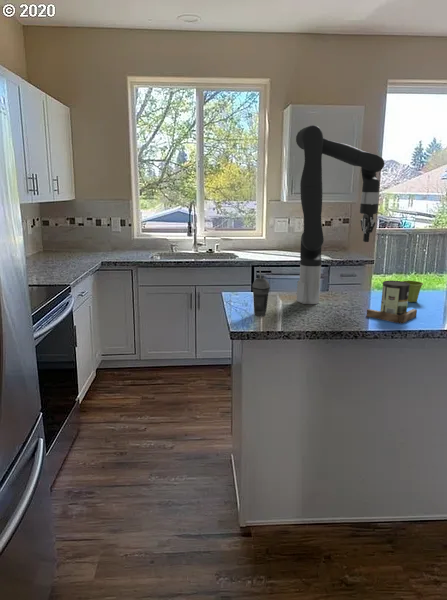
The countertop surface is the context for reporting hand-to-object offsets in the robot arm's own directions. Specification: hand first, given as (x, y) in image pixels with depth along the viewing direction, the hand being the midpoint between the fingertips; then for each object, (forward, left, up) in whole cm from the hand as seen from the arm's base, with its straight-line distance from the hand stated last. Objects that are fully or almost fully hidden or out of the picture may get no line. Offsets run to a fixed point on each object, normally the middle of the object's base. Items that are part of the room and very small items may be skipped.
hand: (365, 241), depth 206 cm
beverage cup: (-56, -7, -27) cm, 63 cm away
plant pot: (+20, -10, -27) cm, 35 cm away
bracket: (-8, -31, -27) cm, 42 cm away
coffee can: (-6, -28, -27) cm, 39 cm away
